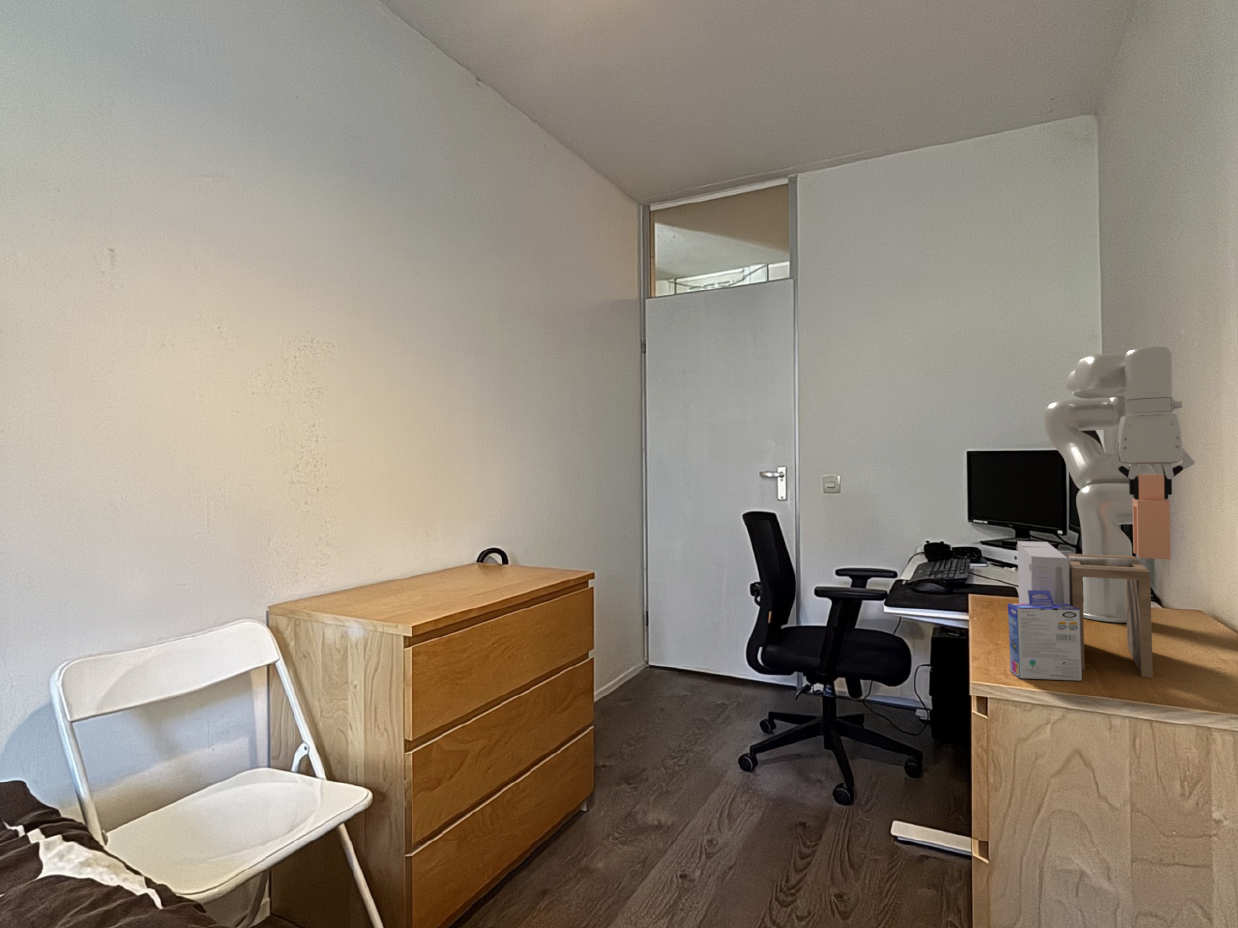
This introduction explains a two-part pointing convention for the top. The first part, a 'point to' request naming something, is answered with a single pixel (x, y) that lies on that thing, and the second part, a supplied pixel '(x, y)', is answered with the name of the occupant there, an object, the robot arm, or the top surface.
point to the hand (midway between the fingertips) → (1150, 497)
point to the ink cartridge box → (1044, 639)
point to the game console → (1042, 572)
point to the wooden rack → (1135, 600)
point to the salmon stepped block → (1151, 519)
